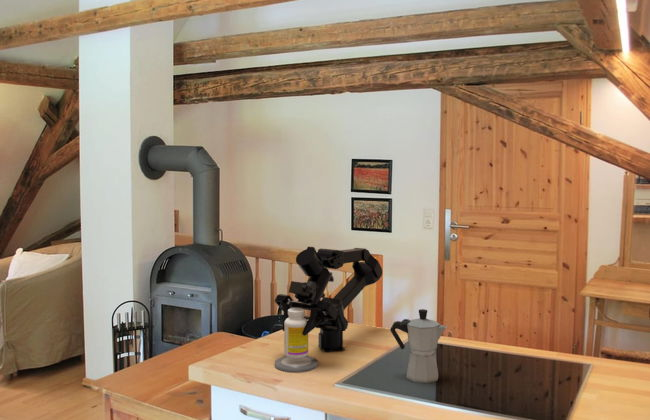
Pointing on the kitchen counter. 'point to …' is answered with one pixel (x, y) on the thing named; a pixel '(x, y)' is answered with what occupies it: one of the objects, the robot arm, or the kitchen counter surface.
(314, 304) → the robot arm
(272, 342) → the kitchen counter surface
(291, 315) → the supplement bottle
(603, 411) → the kitchen counter surface
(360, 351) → the kitchen counter surface
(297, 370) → the gray plate
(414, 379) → the coffee maker
